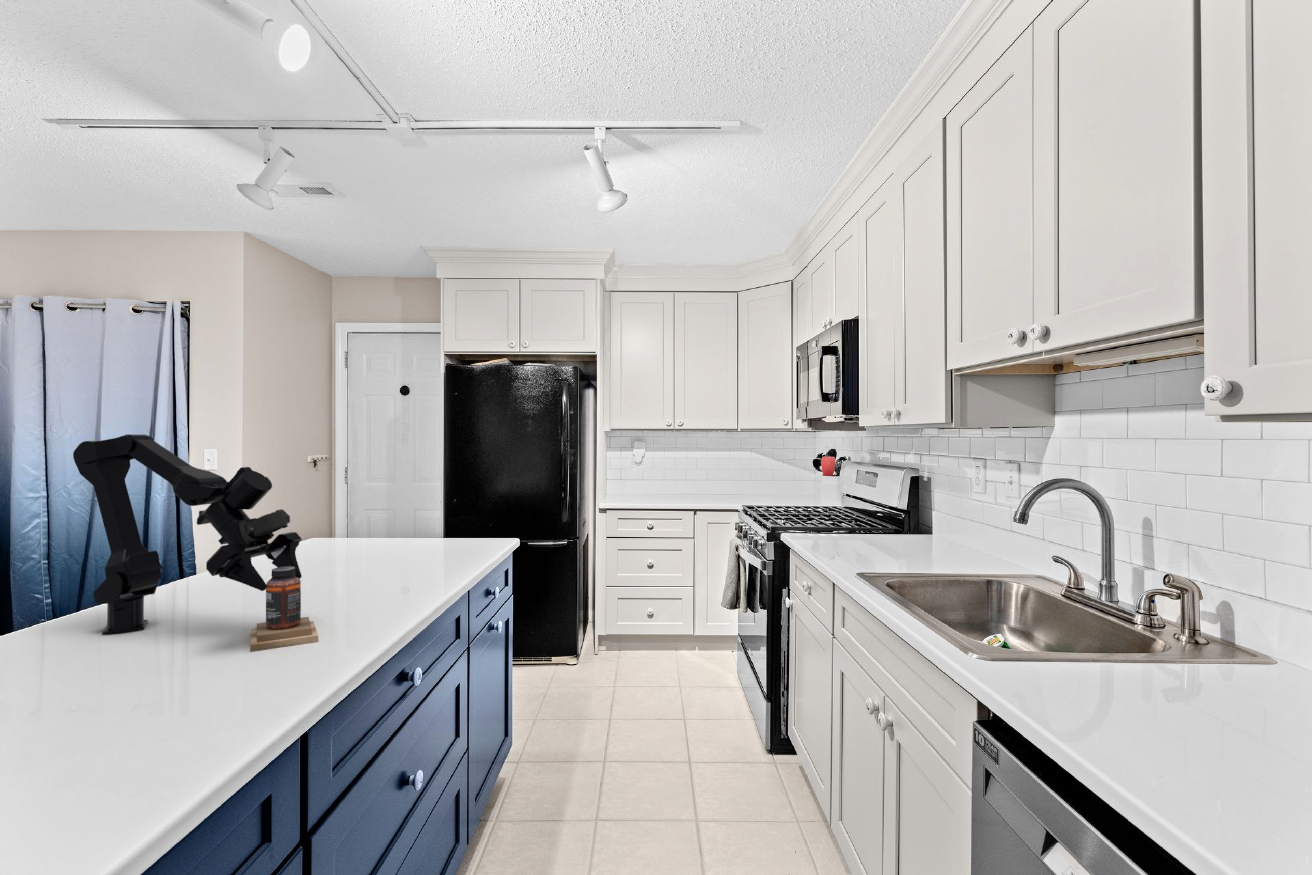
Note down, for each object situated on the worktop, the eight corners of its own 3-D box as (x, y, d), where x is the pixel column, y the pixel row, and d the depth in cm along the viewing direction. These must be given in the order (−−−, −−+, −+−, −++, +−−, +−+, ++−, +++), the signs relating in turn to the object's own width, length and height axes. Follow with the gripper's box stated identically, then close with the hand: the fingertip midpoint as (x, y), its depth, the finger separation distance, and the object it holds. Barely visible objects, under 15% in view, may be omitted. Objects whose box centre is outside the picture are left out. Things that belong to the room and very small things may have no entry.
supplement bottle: (306, 620, 126) (306, 564, 126) (292, 629, 120) (292, 571, 120) (274, 621, 126) (275, 565, 126) (259, 630, 120) (259, 571, 120)
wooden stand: (250, 635, 125) (250, 622, 125) (313, 626, 131) (313, 614, 131) (250, 651, 115) (250, 638, 115) (318, 641, 121) (318, 628, 121)
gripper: (220, 502, 115) (273, 565, 113) (294, 493, 133) (340, 547, 131) (182, 543, 116) (234, 606, 114) (260, 529, 134) (306, 583, 133)
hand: (283, 583), depth 123 cm, fingers open, 9 cm apart
